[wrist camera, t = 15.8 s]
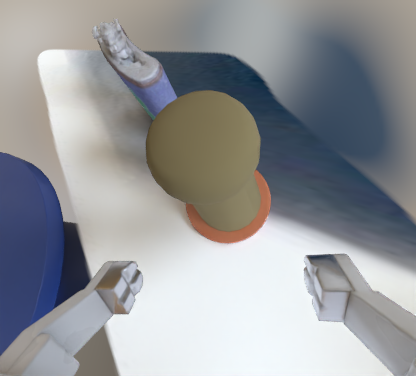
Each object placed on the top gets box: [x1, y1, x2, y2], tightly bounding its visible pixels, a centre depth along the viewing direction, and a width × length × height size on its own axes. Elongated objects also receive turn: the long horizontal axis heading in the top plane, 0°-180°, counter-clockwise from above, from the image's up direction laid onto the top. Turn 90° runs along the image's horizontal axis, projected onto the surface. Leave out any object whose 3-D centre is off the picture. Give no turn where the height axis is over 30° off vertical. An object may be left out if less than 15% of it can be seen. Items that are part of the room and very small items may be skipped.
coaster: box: [186, 169, 271, 243], centre depth 17 cm, size 8×8×1 cm
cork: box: [146, 90, 261, 232], centre depth 12 cm, size 6×6×11 cm
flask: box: [92, 19, 177, 121], centre depth 17 cm, size 9×3×11 cm, turn 38°
